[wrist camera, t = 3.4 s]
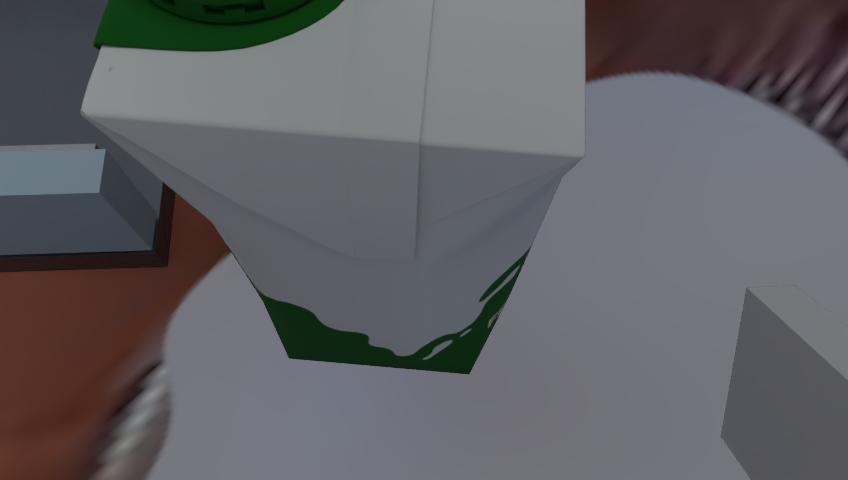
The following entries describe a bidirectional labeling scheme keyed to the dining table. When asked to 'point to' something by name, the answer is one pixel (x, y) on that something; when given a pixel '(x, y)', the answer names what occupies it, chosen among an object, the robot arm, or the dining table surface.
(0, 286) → the dining table surface
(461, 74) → the soya milk
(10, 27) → the vise base
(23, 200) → the block
